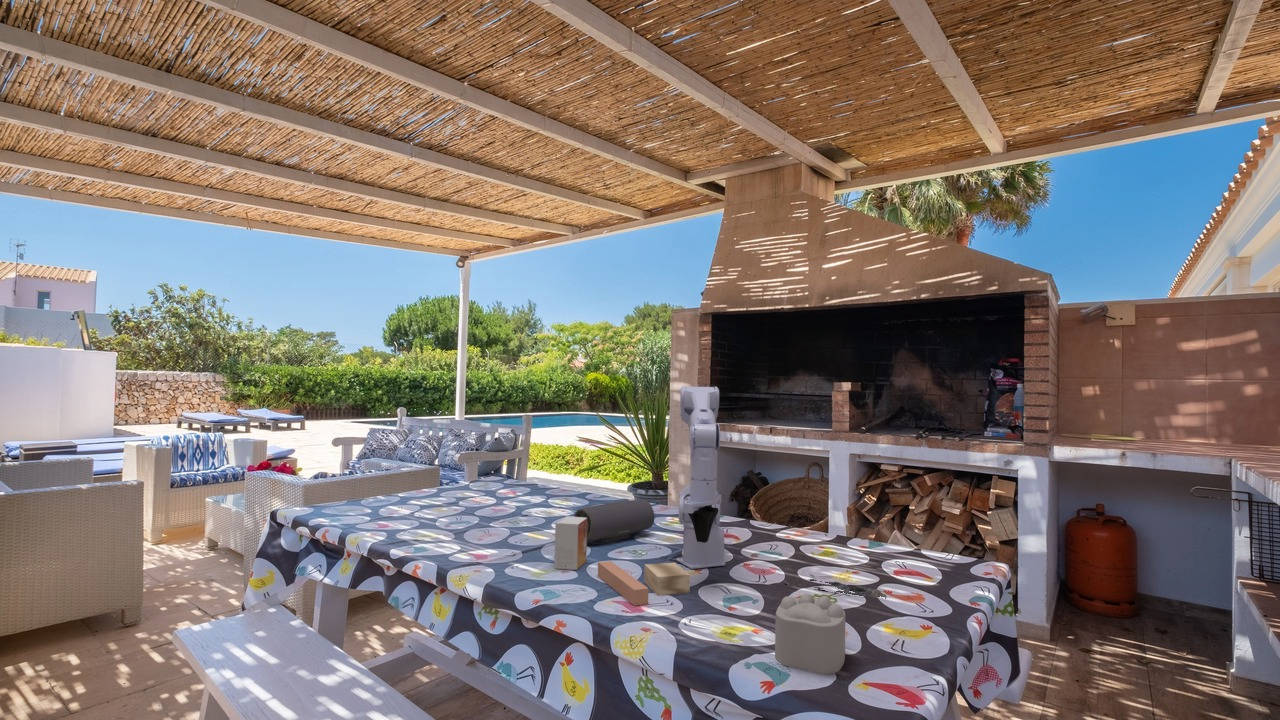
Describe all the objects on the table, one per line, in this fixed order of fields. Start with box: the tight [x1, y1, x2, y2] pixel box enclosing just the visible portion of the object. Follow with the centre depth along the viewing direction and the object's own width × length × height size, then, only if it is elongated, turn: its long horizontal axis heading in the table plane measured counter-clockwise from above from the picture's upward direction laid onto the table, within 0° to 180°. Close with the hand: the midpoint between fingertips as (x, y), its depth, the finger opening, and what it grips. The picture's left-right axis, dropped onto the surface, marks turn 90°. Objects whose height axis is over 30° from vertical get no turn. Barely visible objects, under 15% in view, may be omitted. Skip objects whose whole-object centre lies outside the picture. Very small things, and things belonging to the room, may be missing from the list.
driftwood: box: [783, 578, 887, 598], centre depth 136 cm, size 21×7×2 cm, turn 60°
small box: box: [553, 516, 588, 571], centre depth 149 cm, size 8×6×10 cm
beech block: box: [643, 562, 691, 596], centre depth 134 cm, size 7×9×4 cm
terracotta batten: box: [597, 560, 650, 607], centre depth 132 cm, size 3×20×3 cm, turn 24°
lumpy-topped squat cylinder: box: [774, 593, 847, 675], centre depth 103 cm, size 10×13×9 cm
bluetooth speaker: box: [573, 499, 655, 543], centre depth 175 cm, size 23×9×10 cm, turn 133°
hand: (702, 541), depth 138 cm, fingers closed
